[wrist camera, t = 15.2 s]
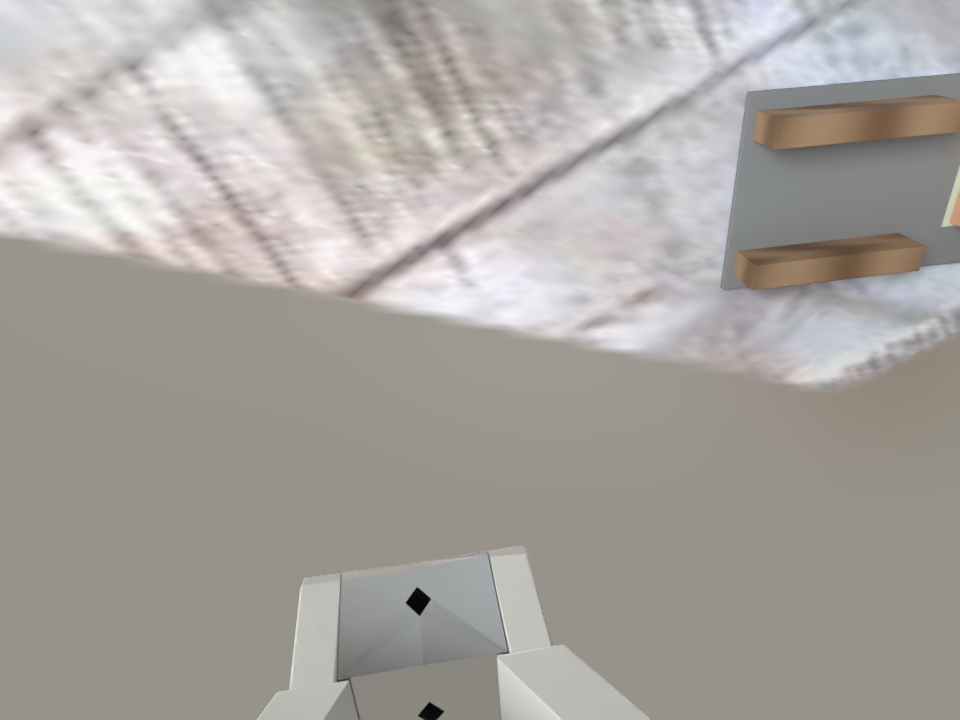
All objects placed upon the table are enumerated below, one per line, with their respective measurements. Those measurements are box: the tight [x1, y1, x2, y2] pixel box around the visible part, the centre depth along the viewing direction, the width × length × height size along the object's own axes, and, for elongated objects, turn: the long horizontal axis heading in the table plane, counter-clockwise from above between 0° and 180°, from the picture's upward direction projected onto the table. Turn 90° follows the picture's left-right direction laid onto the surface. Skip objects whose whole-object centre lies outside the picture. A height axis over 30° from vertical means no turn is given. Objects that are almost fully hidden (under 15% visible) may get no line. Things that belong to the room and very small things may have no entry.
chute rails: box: [733, 95, 960, 290], centre depth 40 cm, size 11×10×2 cm
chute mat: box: [721, 73, 960, 290], centre depth 42 cm, size 20×12×1 cm, turn 93°
